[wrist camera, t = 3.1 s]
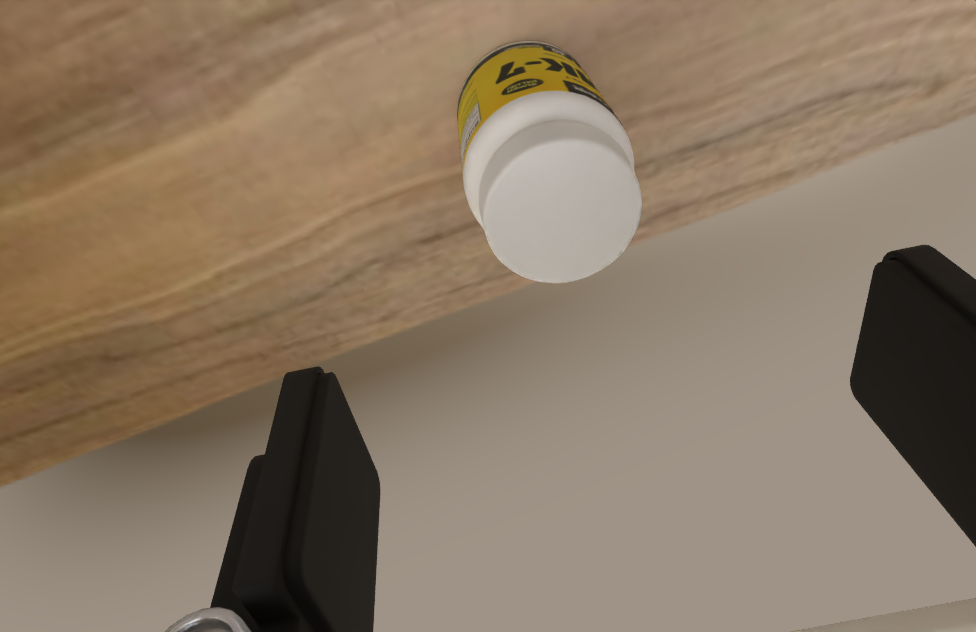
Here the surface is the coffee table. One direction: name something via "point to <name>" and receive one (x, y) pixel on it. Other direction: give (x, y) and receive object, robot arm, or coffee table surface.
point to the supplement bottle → (546, 164)
